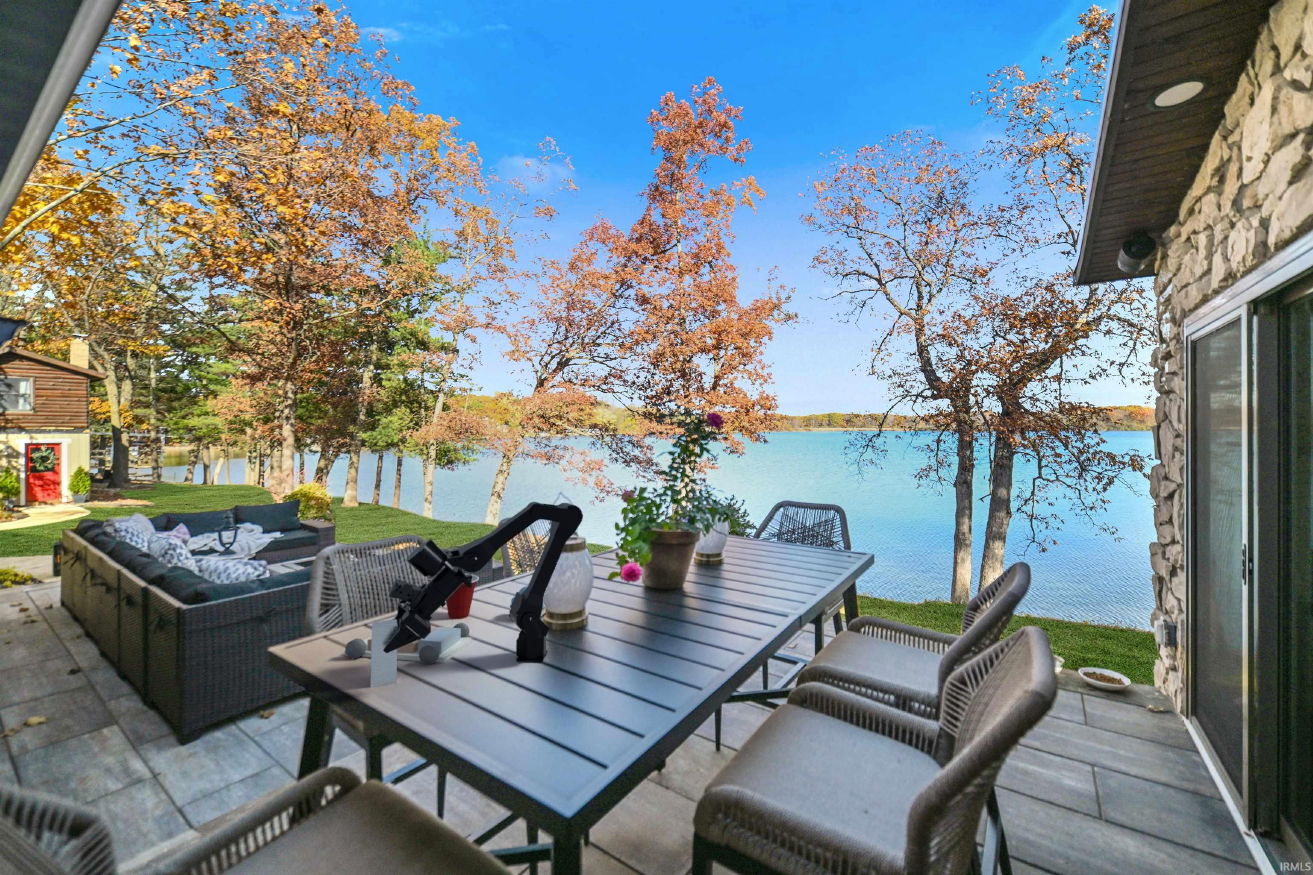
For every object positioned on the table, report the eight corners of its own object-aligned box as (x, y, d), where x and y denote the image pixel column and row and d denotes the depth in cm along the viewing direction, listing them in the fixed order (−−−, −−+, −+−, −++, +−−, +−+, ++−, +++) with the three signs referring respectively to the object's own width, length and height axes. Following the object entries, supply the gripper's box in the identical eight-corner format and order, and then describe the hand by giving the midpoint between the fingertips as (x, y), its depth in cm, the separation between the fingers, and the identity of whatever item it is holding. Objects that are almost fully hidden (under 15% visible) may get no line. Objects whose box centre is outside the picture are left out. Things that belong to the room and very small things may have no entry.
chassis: (473, 640, 150) (474, 623, 150) (441, 665, 133) (441, 646, 133) (383, 634, 153) (383, 617, 153) (339, 657, 136) (340, 639, 136)
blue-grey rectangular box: (395, 674, 127) (396, 619, 127) (396, 683, 123) (397, 625, 123) (370, 678, 125) (372, 621, 125) (370, 687, 121) (371, 628, 121)
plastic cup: (471, 622, 164) (472, 581, 165) (434, 621, 165) (435, 580, 165) (483, 611, 175) (484, 572, 175) (448, 610, 175) (449, 571, 176)
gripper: (410, 558, 135) (357, 609, 130) (415, 575, 118) (354, 635, 113) (444, 588, 138) (393, 639, 133) (454, 609, 122) (396, 668, 117)
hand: (384, 644), depth 124 cm, fingers open, 9 cm apart
